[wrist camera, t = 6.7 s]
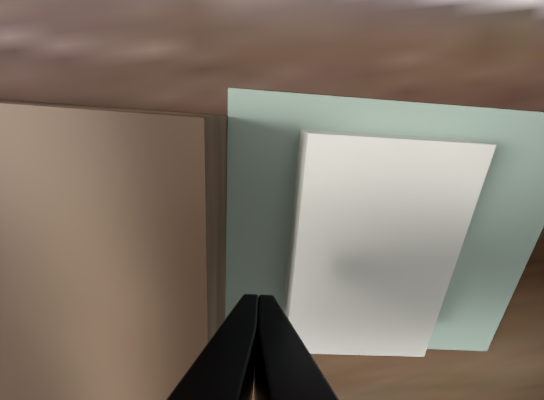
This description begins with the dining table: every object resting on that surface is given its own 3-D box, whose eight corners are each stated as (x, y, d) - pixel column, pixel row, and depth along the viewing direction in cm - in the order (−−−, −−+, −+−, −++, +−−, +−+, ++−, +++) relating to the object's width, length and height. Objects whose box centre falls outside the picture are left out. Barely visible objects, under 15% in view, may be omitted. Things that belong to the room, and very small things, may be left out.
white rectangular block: (308, 133, 8) (300, 129, 10) (285, 352, 11) (282, 316, 13) (496, 144, 8) (452, 138, 10) (424, 356, 11) (400, 320, 13)
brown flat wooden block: (228, 116, 10) (204, 118, 6) (225, 321, 13) (208, 407, 9) (-161, 87, 9) (-460, 70, 5) (-63, 310, 12) (-207, 396, 9)
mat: (584, 116, 10) (593, 116, 10) (482, 346, 14) (486, 351, 14) (229, 88, 9) (227, 87, 9) (225, 336, 13) (224, 341, 13)
